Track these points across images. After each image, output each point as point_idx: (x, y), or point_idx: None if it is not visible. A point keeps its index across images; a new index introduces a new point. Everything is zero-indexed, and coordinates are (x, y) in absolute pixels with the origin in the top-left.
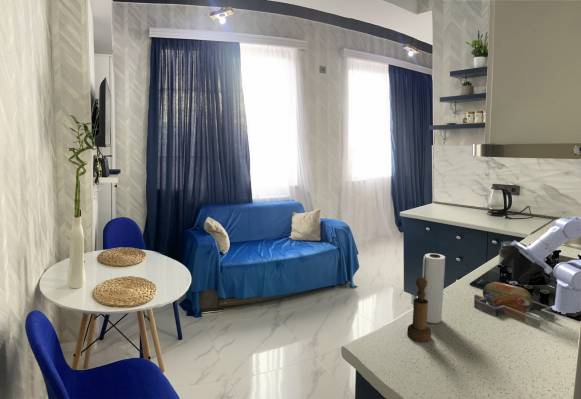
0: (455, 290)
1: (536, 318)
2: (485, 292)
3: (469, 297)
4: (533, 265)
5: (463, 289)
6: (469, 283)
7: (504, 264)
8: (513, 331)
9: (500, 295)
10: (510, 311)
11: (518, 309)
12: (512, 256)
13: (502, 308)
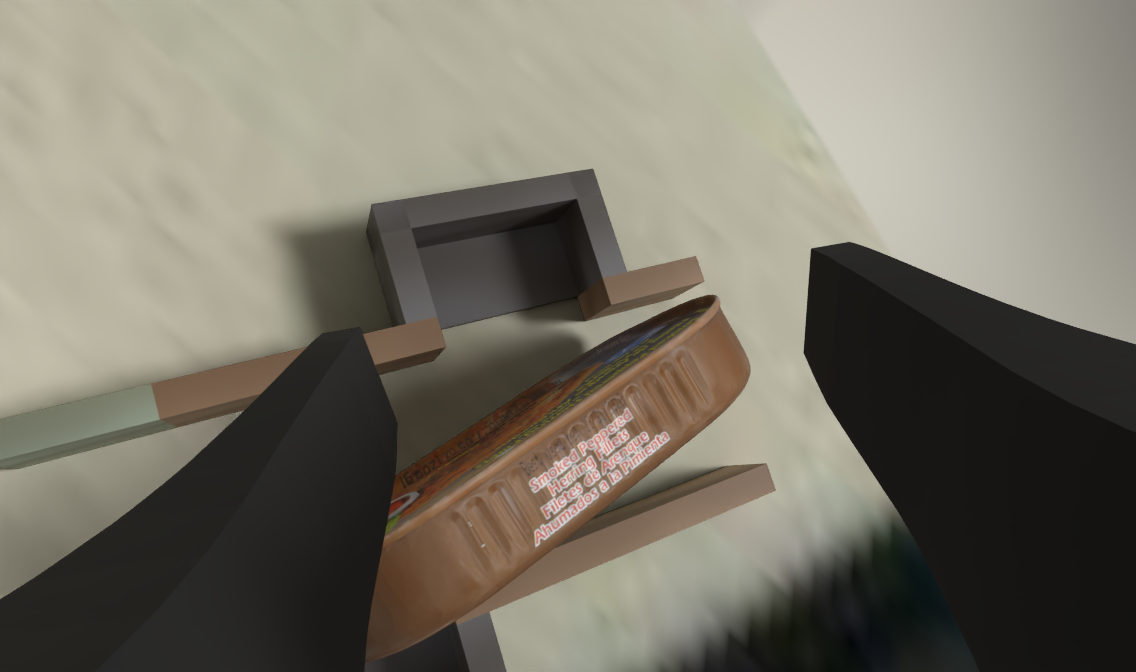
0: None
1: (32, 443)
2: (676, 320)
3: (738, 299)
4: (87, 652)
5: None
6: None
7: (829, 346)
8: (49, 149)
9: (571, 396)
10: None
11: None
12: (997, 507)
13: (395, 299)
